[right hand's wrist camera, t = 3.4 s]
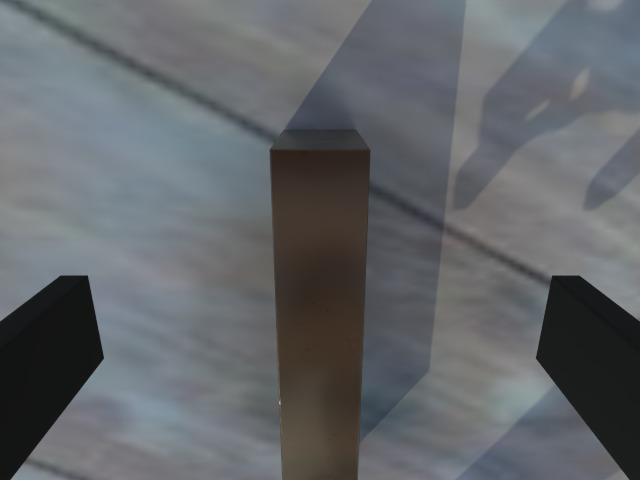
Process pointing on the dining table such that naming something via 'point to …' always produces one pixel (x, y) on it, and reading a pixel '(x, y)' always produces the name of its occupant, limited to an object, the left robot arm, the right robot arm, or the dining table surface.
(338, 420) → the walnut plank
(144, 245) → the dining table surface
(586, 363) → the right robot arm
